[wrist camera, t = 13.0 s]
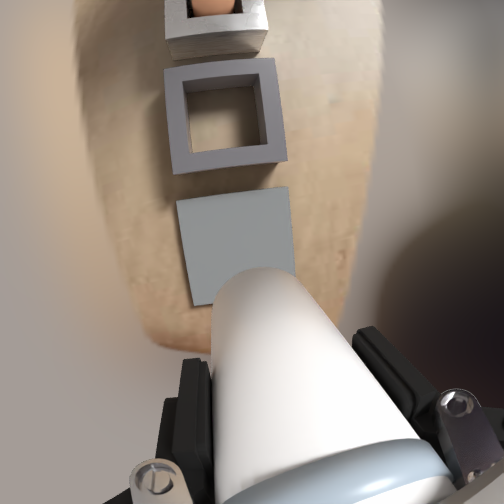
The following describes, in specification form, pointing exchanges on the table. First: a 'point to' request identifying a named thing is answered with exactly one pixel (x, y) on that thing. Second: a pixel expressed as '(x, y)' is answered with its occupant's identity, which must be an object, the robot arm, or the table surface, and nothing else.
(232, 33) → the frame
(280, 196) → the slate mat
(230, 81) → the frame
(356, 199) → the table surface
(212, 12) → the release button
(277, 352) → the cylinder
